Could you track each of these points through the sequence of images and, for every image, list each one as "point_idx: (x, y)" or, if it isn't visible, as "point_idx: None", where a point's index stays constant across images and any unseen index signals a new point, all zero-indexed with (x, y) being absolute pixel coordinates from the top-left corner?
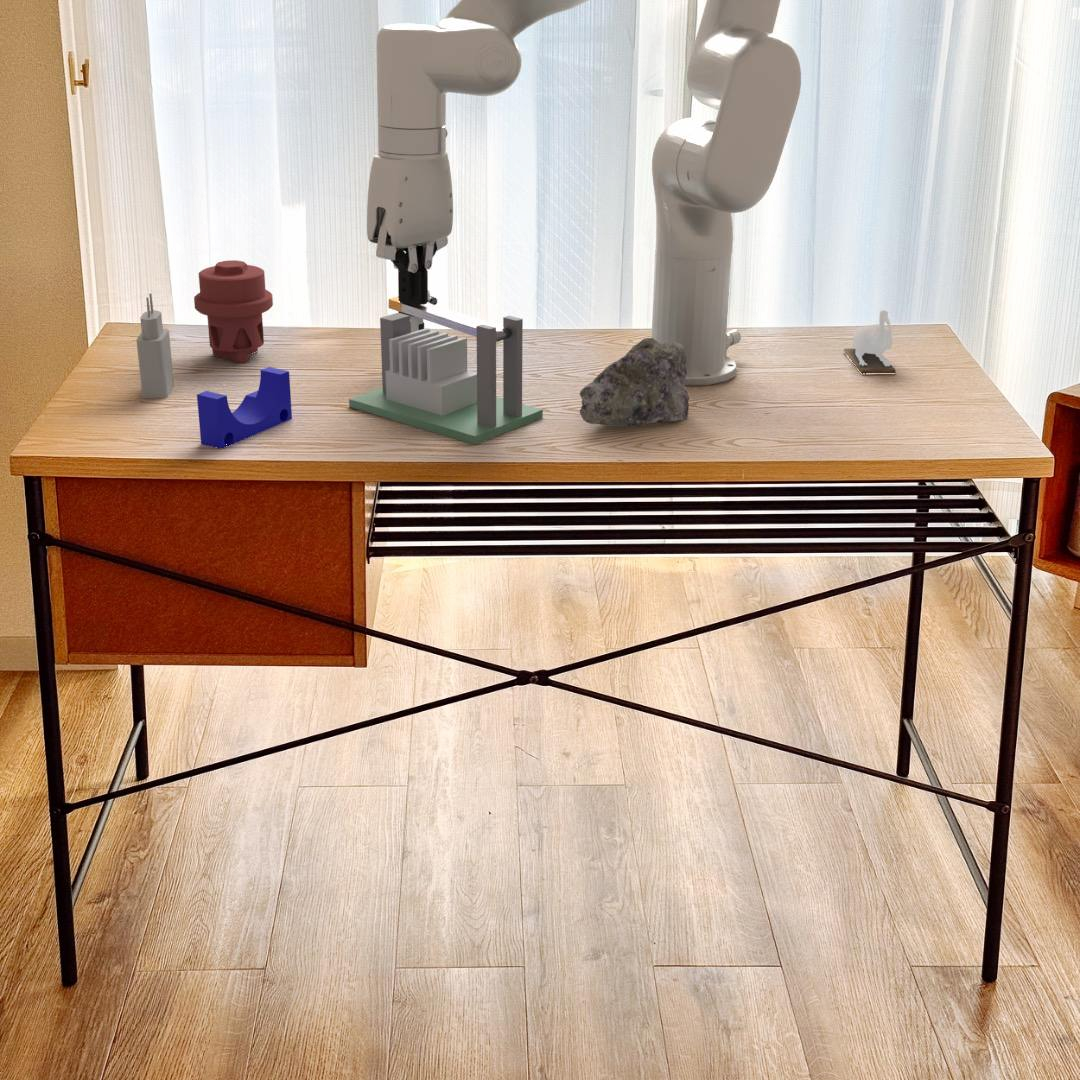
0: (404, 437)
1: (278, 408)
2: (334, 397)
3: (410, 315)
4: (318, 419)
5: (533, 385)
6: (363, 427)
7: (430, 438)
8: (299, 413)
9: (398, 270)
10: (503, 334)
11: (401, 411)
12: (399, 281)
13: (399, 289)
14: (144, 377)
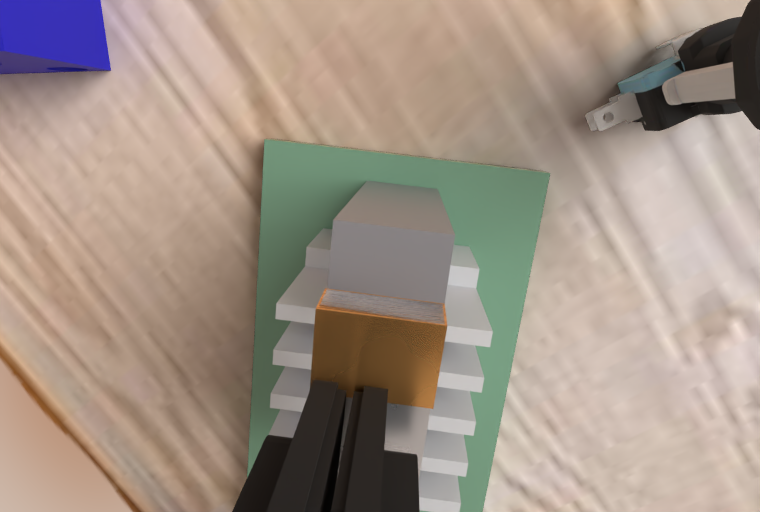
0: (193, 377)
1: (28, 67)
2: (309, 45)
3: (735, 77)
4: (152, 134)
5: (679, 428)
6: (182, 265)
7: (224, 424)
8: (152, 56)
9: (272, 501)
10: None
11: (271, 316)
12: (242, 492)
13: (259, 454)
14: None
